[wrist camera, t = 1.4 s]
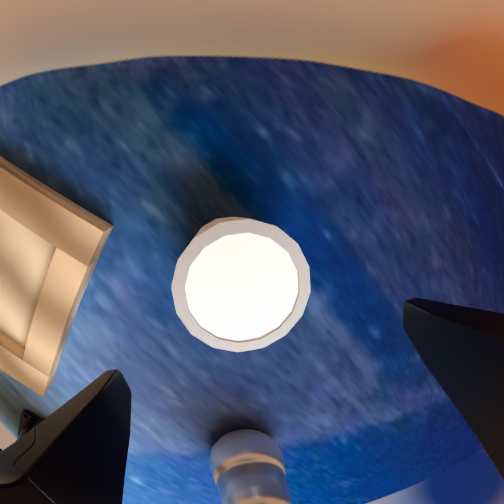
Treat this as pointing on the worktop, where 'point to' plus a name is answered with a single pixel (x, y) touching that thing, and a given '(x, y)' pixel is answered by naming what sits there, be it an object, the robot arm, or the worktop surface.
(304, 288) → the white tapered cup
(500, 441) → the robot arm
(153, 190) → the worktop surface
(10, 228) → the holder tray
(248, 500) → the plastic bottle
